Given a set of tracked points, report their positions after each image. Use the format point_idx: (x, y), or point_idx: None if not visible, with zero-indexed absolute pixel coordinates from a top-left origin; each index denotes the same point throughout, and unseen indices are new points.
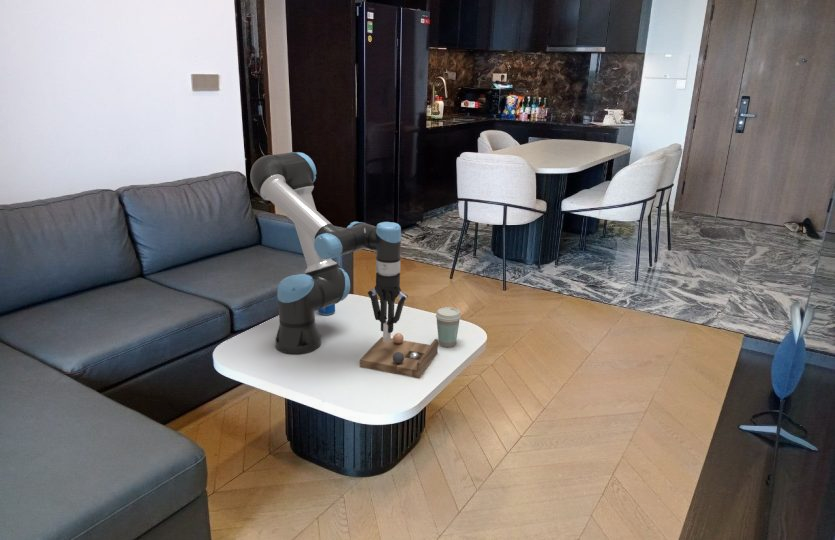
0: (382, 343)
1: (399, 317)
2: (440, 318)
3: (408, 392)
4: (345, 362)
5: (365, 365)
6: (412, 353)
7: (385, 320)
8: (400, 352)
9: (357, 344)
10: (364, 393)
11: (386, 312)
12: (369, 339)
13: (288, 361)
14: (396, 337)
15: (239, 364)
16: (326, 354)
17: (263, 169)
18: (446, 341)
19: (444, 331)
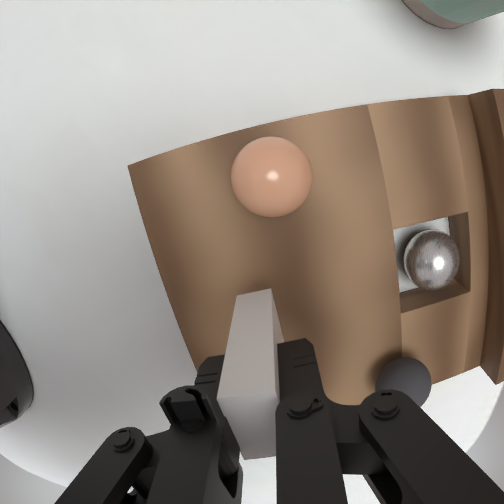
0: (191, 242)
1: (430, 434)
2: None
3: (458, 420)
4: (157, 402)
5: None
6: (436, 279)
7: (227, 435)
8: (419, 391)
9: (70, 251)
10: (344, 482)
11: (205, 500)
12: (73, 170)
13: (52, 438)
14: (278, 214)
15: (23, 461)
16: (67, 379)
17: None
18: (471, 21)
19: (499, 7)
